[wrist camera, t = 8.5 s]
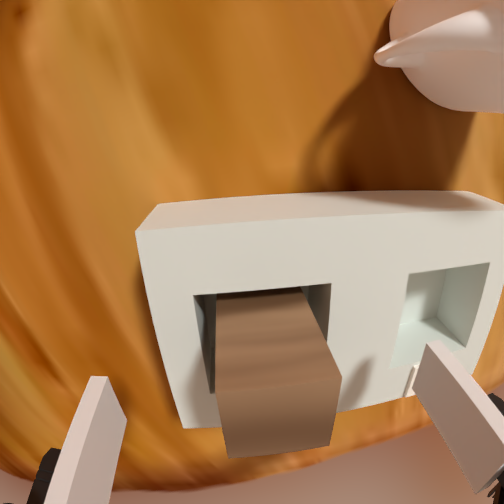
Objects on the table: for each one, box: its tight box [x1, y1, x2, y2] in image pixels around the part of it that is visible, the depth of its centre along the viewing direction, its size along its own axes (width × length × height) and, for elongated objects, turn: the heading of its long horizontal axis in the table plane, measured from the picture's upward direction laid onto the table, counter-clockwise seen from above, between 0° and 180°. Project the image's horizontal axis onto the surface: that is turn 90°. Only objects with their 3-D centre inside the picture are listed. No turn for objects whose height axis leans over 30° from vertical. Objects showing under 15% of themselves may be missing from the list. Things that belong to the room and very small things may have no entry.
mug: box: [374, 0, 504, 113], centre depth 10 cm, size 9×12×11 cm
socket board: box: [135, 190, 504, 428], centre depth 17 cm, size 12×20×5 cm, turn 93°
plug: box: [215, 286, 342, 458], centre depth 14 cm, size 4×4×9 cm
